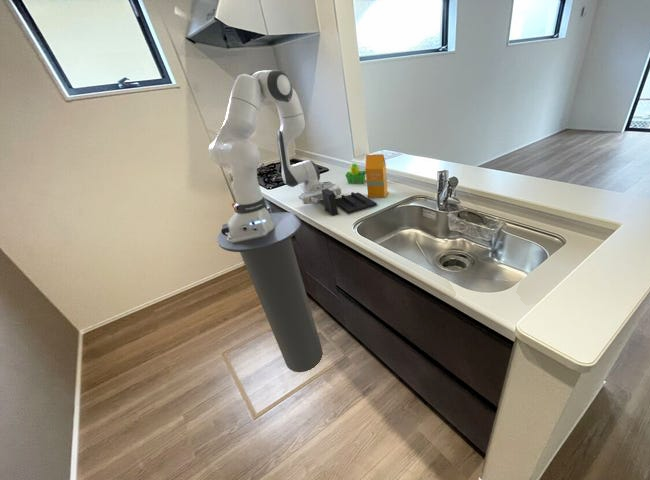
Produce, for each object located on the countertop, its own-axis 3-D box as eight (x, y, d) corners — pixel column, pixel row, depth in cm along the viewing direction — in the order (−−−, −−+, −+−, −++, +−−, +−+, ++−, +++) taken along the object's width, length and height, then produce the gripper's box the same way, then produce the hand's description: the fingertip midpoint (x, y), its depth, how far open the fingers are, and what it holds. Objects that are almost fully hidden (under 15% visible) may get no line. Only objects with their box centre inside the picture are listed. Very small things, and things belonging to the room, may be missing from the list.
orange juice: (384, 197, 151) (381, 156, 139) (368, 197, 153) (363, 157, 141) (387, 192, 157) (385, 152, 145) (371, 192, 159) (367, 152, 147)
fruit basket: (367, 179, 178) (365, 159, 171) (365, 184, 170) (362, 164, 164) (348, 180, 180) (346, 160, 173) (345, 185, 172) (342, 165, 166)
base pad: (349, 214, 138) (348, 207, 136) (332, 201, 153) (331, 195, 151) (376, 205, 143) (376, 199, 141) (358, 194, 158) (357, 188, 156)
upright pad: (332, 215, 138) (328, 195, 133) (325, 210, 145) (321, 189, 139) (338, 214, 139) (334, 193, 134) (331, 208, 146) (327, 188, 140)
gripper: (295, 190, 147) (304, 198, 136) (333, 180, 154) (344, 187, 143) (298, 202, 150) (307, 210, 140) (335, 192, 157) (346, 199, 147)
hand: (326, 198), depth 142 cm, fingers open, 8 cm apart
